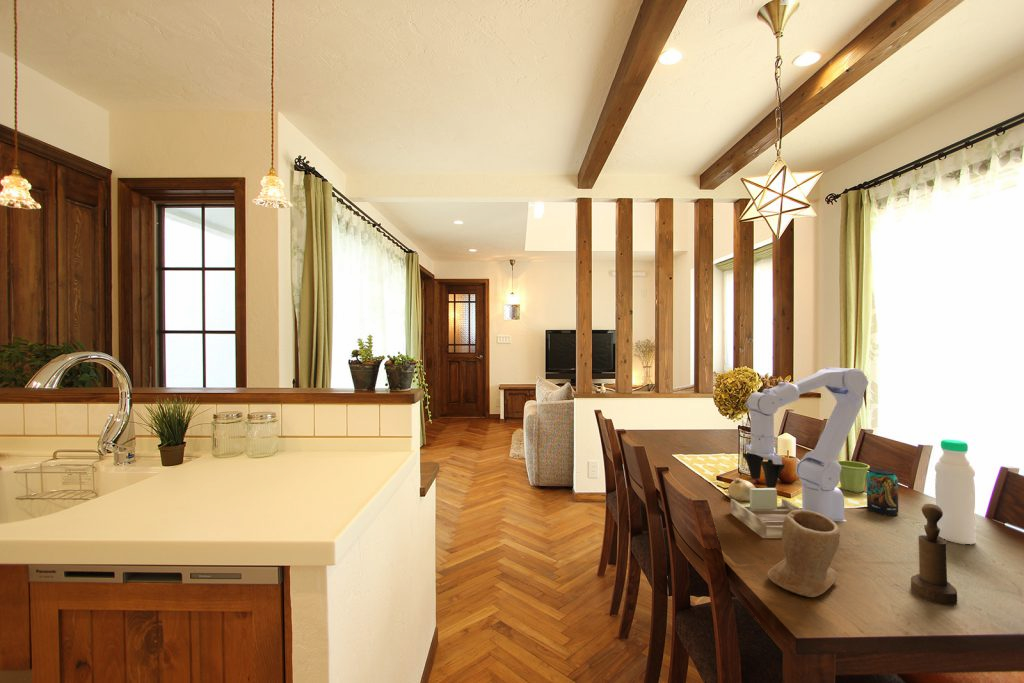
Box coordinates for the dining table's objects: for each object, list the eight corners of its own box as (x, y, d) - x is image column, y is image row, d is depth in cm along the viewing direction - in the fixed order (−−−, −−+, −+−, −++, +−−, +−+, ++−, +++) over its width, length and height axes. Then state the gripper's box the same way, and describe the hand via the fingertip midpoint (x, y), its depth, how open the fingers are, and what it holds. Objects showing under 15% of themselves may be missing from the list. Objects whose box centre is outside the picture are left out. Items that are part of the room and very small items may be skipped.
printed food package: (878, 515, 123) (877, 474, 123) (861, 506, 130) (860, 467, 130) (904, 516, 122) (904, 474, 122) (886, 507, 129) (885, 467, 129)
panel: (750, 516, 122) (749, 488, 122) (774, 516, 122) (774, 488, 122) (752, 517, 121) (752, 489, 121) (777, 517, 121) (776, 489, 121)
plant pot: (845, 493, 141) (844, 467, 141) (829, 484, 151) (828, 459, 151) (877, 495, 140) (876, 468, 140) (858, 485, 149) (858, 460, 149)
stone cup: (825, 612, 79) (824, 532, 80) (759, 583, 89) (758, 511, 89) (857, 586, 88) (856, 513, 88) (793, 562, 98) (792, 496, 98)
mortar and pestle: (901, 586, 87) (900, 499, 88) (930, 585, 88) (929, 497, 88) (936, 606, 81) (935, 511, 81) (967, 604, 81) (965, 510, 82)
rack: (730, 515, 125) (730, 499, 125) (784, 514, 124) (784, 499, 124) (762, 540, 109) (762, 522, 109) (824, 539, 108) (823, 521, 108)
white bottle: (966, 536, 110) (965, 439, 110) (982, 548, 103) (980, 445, 104) (930, 531, 113) (929, 436, 113) (943, 542, 106) (942, 442, 107)
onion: (734, 494, 142) (734, 472, 142) (760, 500, 136) (760, 478, 136) (724, 500, 137) (724, 478, 137) (751, 506, 131) (751, 483, 131)
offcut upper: (751, 517, 119) (751, 513, 119) (789, 518, 118) (789, 514, 118) (758, 523, 115) (758, 519, 115) (797, 524, 114) (797, 520, 114)
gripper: (735, 430, 129) (735, 475, 129) (763, 441, 114) (763, 491, 114) (758, 429, 129) (759, 474, 129) (789, 440, 114) (790, 491, 114)
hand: (763, 482), depth 122 cm, fingers open, 7 cm apart
